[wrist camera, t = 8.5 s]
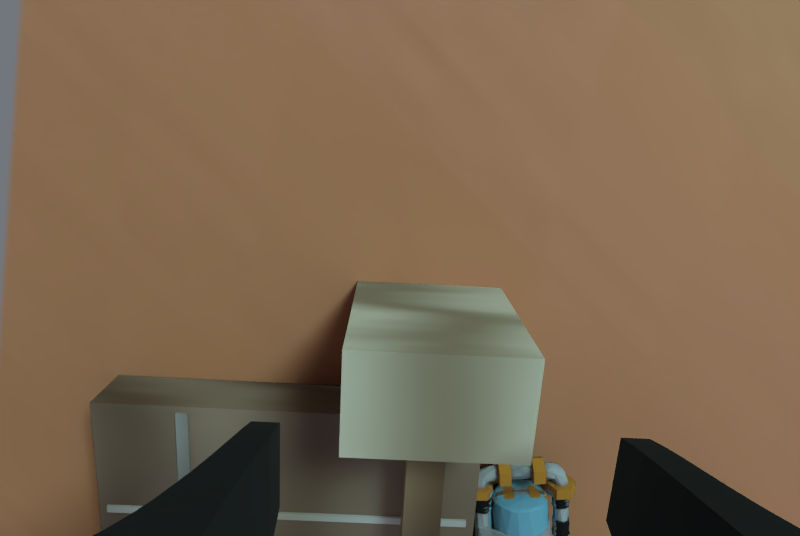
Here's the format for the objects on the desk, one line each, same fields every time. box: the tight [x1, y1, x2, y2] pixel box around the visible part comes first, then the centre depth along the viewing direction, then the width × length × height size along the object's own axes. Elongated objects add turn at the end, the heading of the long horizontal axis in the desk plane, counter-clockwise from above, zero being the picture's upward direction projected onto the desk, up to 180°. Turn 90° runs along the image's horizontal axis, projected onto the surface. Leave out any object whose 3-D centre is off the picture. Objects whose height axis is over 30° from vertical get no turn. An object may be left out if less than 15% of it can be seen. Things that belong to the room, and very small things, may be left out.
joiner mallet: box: [339, 281, 545, 536], centre depth 18 cm, size 5×8×6 cm, turn 177°
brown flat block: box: [90, 375, 480, 536], centre depth 21 cm, size 13×9×2 cm
